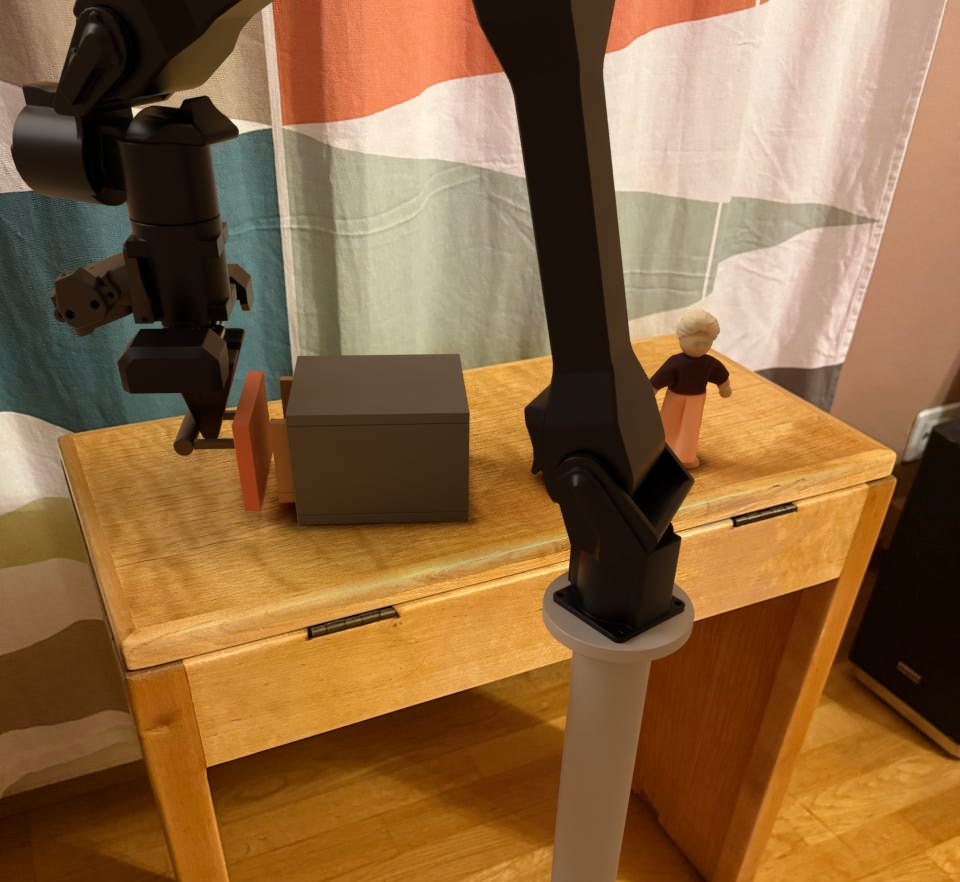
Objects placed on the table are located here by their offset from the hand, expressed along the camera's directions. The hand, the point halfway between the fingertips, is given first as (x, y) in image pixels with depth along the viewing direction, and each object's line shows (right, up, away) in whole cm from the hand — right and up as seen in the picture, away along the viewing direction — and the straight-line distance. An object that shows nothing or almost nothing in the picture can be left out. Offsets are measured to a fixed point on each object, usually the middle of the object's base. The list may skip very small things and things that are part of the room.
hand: (211, 437), depth 71 cm
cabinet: (+13, -3, +4) cm, 13 cm away
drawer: (+6, -3, +3) cm, 7 cm away
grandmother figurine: (+37, -1, +8) cm, 38 cm away
